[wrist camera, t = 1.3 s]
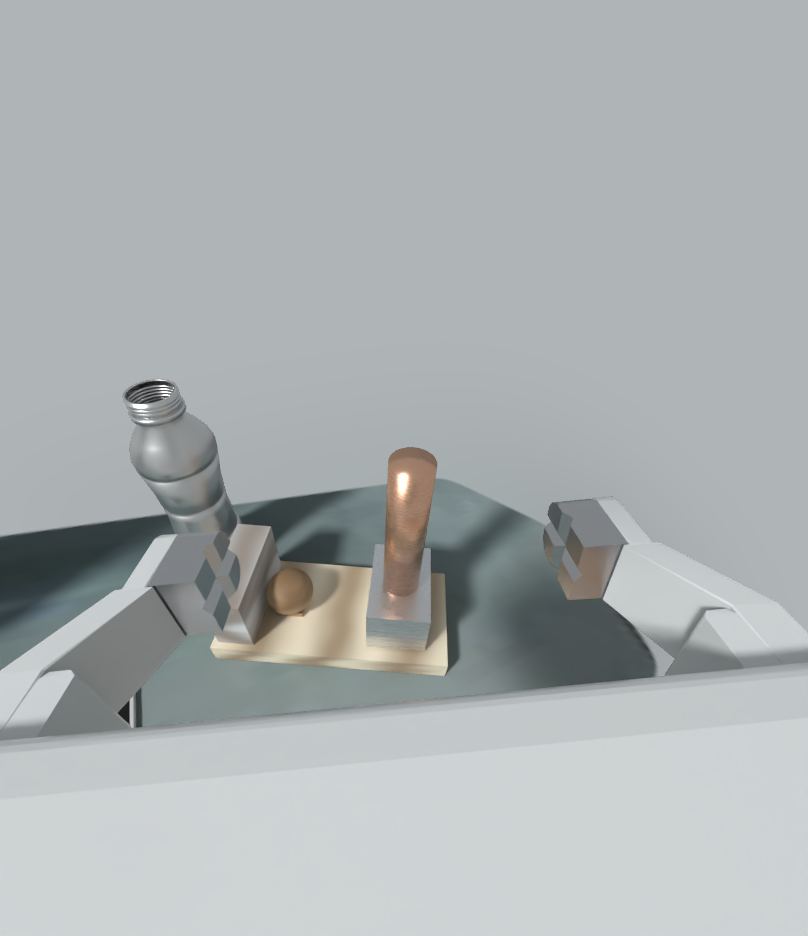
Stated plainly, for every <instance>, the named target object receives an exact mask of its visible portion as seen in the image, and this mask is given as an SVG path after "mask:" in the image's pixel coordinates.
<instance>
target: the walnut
mask: <svg viewBox="0 0 808 936" xmlns="http://www.w3.org/2000/svg"><path fill="white" fill-rule="evenodd" d="M312 595H313V584H312V581H311V579H310V577H309V576H308V574H307V573H305V572H304V571H302V570H300V569H298V568H286V569H283V570H281V571H279V572H277V573H276V574H275V575H274V576H273V577H272V578H271V580H270V581H269V583H268V586H267V590H266V597H267V601H268V603H269V605H270V607H271V608H272V609H273V610H274V611H275V612H276V615H284V616H296V617H303V615H304V611H305V608H306V606H307V605H308V604H309V602H310V601H311V598H312Z"/></svg>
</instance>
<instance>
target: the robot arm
mask: <svg viewBox="0 0 808 936" xmlns="http://www.w3.org/2000/svg"><path fill="white" fill-rule="evenodd" d="M548 516H549V518H550V520H551V522H550V523H549V524H548V525H547V526H546V527H545V529H544V535H543V541H544V549H545V553H546V556H547V558H548V560H549V562H550V564H551V565H553V566H554V567H556V568H557V569H559V572H558V576H557V579H558V581H559V583H560V585H561V587H562V589H563V591H564V593H565V595H566V597H567V599H568V600H577V599H592V598H603V600H604V601H605V602H606V603H608V604H609V605H610V606H611V607H613V608H614V609H615V610H616V611H617V612H619V613H620V614H621V615H622V616H624V617H625V618H626V619H627V620H628V621H630V622H631V623H632V624H633V625H635V626H636V627H637V628H638V629H639V630H641V631H642V632H643V633H644V634H646V635H647V636H648V637H649V638H650V639H652V640H653V641H654V642H655V643H657V644H658V645H659V646H660V647H661V648H663V649H664V650H665V651H666V652H668V653H669V654H670V655H671V656H672V657H674V658H675V660H674V661H673V663H672V664H671V666H670V668H669V669H668V671H667V672H666V674H665V676H661V677H651V678H641V679H630V680H620V681H610V682H600V683H589V684H579V685H569V686H559V687H548V688H538V689H528V690H517V691H507V692H497V693H486V694H476V695H466V696H455V697H445V698H435V699H424V700H414V701H404V702H394V703H384V704H374V705H363V706H353V707H343V708H333V709H323V710H313V711H302V712H292V713H282V714H272V715H261V716H251V717H241V718H231V719H220V720H210V721H200V722H190V723H179V724H169V725H159V726H149V727H138V728H131V726H130V725H129V724H128V723H127V722H126V721H125V720H124V719H123V718H122V717H121V716H120V715H119V714H118V712H119V711H120V710H121V709H122V707H123V706H124V705H125V704H126V703H127V702H128V701H129V700H130V699H131V698H132V697H133V696H134V694H135V693H136V692H137V691H138V690H139V689H140V688H141V687H142V686H143V685H144V684H145V683H146V681H147V680H148V679H149V678H150V677H151V676H152V675H153V674H154V673H155V672H156V671H157V670H158V668H159V667H160V666H161V665H162V664H163V663H164V662H165V661H166V660H167V659H168V658H169V656H170V655H171V654H172V653H173V652H174V651H175V650H176V649H177V648H178V647H179V646H180V645H181V643H182V642H183V641H184V640H185V639H186V636H192V635H200V634H208V633H217V632H223V629H224V626H225V623H226V620H227V618H228V615H229V612H230V609H231V606H230V604H229V602H228V599H229V598H230V597H231V596H232V595H233V594H235V593H236V592H237V589H238V586H239V582H240V571H241V570H240V564H239V560H238V558H237V555H236V554H235V553H233V552H231V551H230V550H228V547H229V545H230V540H229V538H228V536H227V534H226V532H223V531H214V532H198V533H182V534H173V535H160V536H159V537H157V538H155V539H154V541H153V542H152V544H151V545H150V547H149V548H148V550H147V551H146V553H145V554H144V556H143V558H142V559H141V561H140V562H139V564H138V565H137V567H136V568H135V570H134V571H133V573H132V574H131V576H130V578H129V579H128V581H127V582H126V584H125V585H124V587H123V588H122V590H115V591H113V592H112V593H110V594H109V595H107V596H106V597H105V598H103V599H102V600H100V601H99V602H97V603H96V604H95V605H93V606H92V607H90V608H89V609H87V610H86V611H85V612H83V613H82V614H80V615H79V616H78V617H76V618H75V619H73V620H72V621H70V622H69V623H68V624H66V625H65V626H63V627H62V628H60V629H59V630H58V631H56V632H55V633H53V634H52V635H50V636H49V637H48V638H46V639H45V640H43V641H42V642H40V643H39V644H38V645H36V646H35V647H33V648H32V649H30V650H29V651H28V652H26V653H25V654H23V655H22V656H21V657H19V658H18V659H16V660H15V661H13V662H12V663H11V664H9V665H8V666H6V667H5V668H3V669H2V670H1V671H0V936H808V632H807V631H806V630H805V629H804V628H803V627H802V626H801V625H800V624H799V623H798V622H796V620H795V619H794V618H793V617H792V616H791V615H790V614H789V613H788V612H787V611H786V610H785V609H784V608H782V606H781V605H780V604H779V603H777V602H775V601H774V600H772V599H770V598H768V597H766V596H763V595H762V594H760V593H758V592H756V591H754V590H752V589H750V588H748V587H746V586H744V585H742V584H740V583H739V582H737V581H735V580H733V579H731V578H729V577H727V576H725V575H723V574H721V573H719V572H717V571H715V570H713V569H711V568H709V567H707V566H705V565H703V564H701V563H699V562H697V561H696V560H694V559H692V558H690V557H688V556H685V555H684V554H682V553H680V552H678V551H676V550H674V549H672V548H670V547H668V546H666V545H664V544H662V543H660V542H652V541H651V540H650V538H649V537H648V536H647V535H646V534H645V532H644V531H643V530H642V529H641V528H640V526H639V525H638V524H637V523H636V521H634V519H633V518H632V517H631V515H630V514H629V513H628V512H627V511H626V509H625V508H624V507H623V506H622V505H621V503H620V502H619V501H618V500H617V499H616V498H614V497H602V498H592V499H585V500H574V501H563V502H554V503H552V504H551V505H550V507H549V510H548Z"/></svg>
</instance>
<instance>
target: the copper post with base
mask: <svg viewBox="0 0 808 936" xmlns="http://www.w3.org/2000/svg"><path fill="white" fill-rule="evenodd" d="M436 470H437V461H436V459H435V457H434V456H433V455H432V454H431V453H429V452H428V451H426V450H423V449H420V448H413V447H407V448H402V449H399V450H397V451H395V452H394V453H392V455H391V456H390V457H389V461H388V482H387V504H386V525H385V545H381V544H375V552H374V560H373V567H372V575H371V583H370V590H369V598H368V606H367V613H366V646H367V647H380V648H393V649H406V650H418V651H425V647H426V642H427V638H428V633H429V629H430V624H431V548H424V546H425V540H426V534H427V527H428V521H429V515H430V508H431V502H432V496H433V489H434V483H435V477H436Z"/></svg>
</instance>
